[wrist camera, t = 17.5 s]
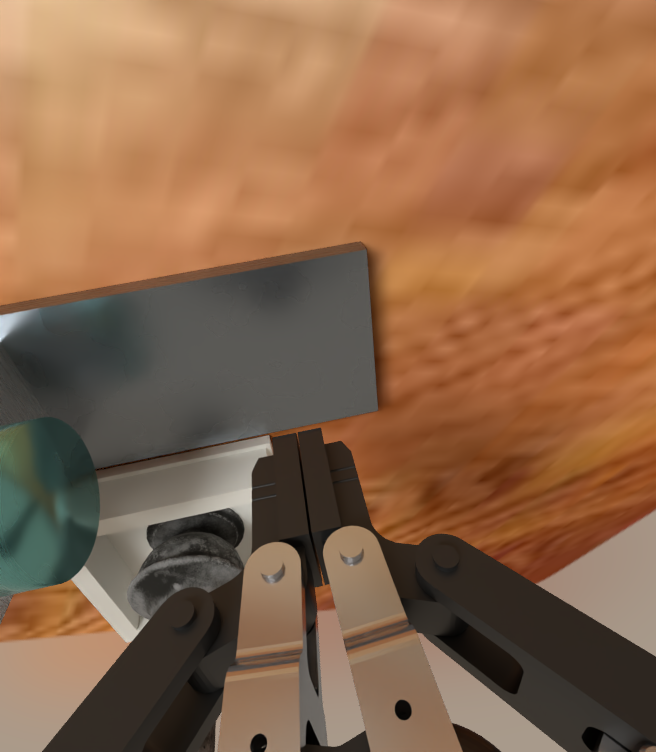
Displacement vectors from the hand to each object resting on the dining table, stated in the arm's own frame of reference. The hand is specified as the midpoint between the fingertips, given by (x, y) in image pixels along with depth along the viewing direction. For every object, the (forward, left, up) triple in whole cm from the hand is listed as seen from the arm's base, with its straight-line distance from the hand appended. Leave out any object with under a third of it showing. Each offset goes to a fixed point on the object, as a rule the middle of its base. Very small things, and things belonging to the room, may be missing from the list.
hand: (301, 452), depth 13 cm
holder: (+7, +11, -7) cm, 15 cm away
